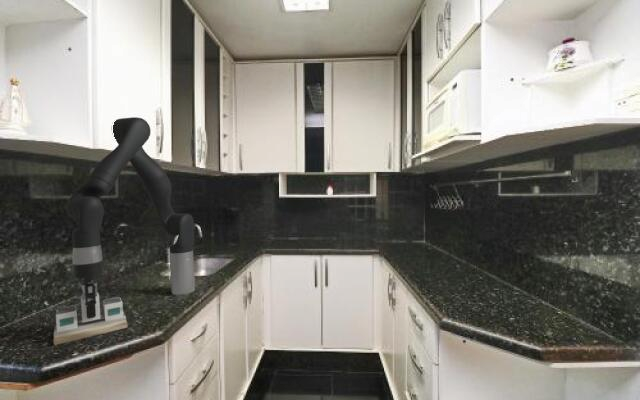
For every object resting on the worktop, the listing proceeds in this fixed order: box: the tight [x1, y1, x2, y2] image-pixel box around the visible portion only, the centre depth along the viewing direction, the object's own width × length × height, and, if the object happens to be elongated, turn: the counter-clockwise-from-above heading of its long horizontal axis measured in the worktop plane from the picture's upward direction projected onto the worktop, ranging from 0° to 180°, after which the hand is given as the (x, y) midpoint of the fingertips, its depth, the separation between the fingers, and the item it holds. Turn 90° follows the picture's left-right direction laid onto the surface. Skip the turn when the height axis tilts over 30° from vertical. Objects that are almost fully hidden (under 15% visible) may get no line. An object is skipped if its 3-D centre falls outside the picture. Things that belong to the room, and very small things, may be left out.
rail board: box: [53, 296, 129, 346], centre depth 103 cm, size 12×18×8 cm, turn 127°
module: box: [80, 291, 101, 323], centre depth 103 cm, size 6×4×8 cm
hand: (91, 314), depth 103 cm, fingers closed on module, 5 cm apart
